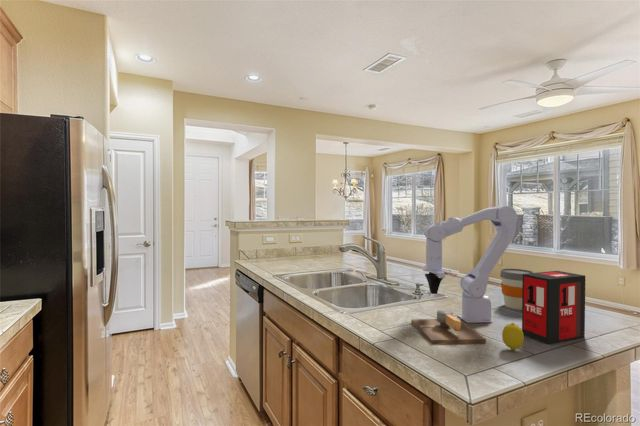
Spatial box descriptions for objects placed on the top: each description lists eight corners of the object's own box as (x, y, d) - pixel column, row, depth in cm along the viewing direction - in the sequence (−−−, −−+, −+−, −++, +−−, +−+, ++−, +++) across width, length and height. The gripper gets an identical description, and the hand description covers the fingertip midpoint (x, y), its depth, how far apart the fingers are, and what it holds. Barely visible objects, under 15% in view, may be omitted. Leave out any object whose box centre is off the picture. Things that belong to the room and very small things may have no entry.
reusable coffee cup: (534, 313, 133) (535, 275, 133) (498, 307, 140) (499, 272, 139) (534, 305, 144) (534, 270, 144) (500, 300, 150) (501, 267, 150)
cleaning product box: (548, 344, 102) (549, 279, 102) (521, 334, 111) (522, 273, 110) (584, 337, 108) (585, 275, 108) (556, 328, 116) (557, 270, 116)
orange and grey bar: (434, 318, 117) (434, 310, 117) (448, 318, 117) (448, 309, 117) (451, 331, 105) (451, 322, 105) (466, 331, 105) (466, 321, 105)
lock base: (457, 321, 122) (457, 314, 122) (485, 342, 103) (485, 334, 103) (411, 322, 121) (411, 315, 121) (431, 344, 102) (431, 335, 102)
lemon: (497, 346, 101) (498, 320, 101) (515, 346, 101) (515, 319, 101) (509, 354, 95) (510, 326, 95) (528, 354, 96) (528, 326, 96)
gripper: (416, 254, 133) (416, 288, 133) (431, 260, 119) (430, 298, 119) (434, 254, 134) (434, 288, 134) (450, 260, 119) (450, 298, 119)
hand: (433, 293), depth 126 cm, fingers closed
